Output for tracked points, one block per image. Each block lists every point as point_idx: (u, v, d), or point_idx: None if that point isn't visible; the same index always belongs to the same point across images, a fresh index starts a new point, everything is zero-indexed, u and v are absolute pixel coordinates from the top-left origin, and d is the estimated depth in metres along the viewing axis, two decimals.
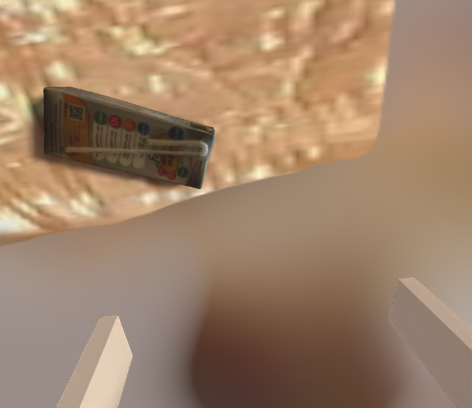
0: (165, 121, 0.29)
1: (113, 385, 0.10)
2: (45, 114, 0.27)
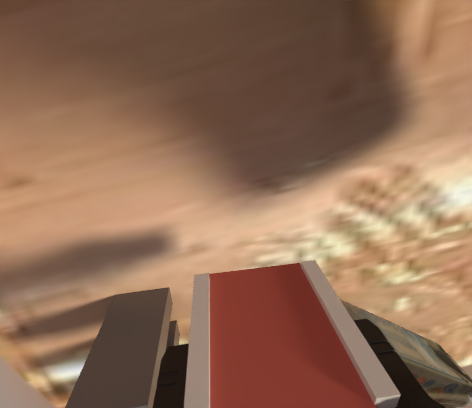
0: (450, 378, 0.26)
1: None
2: None
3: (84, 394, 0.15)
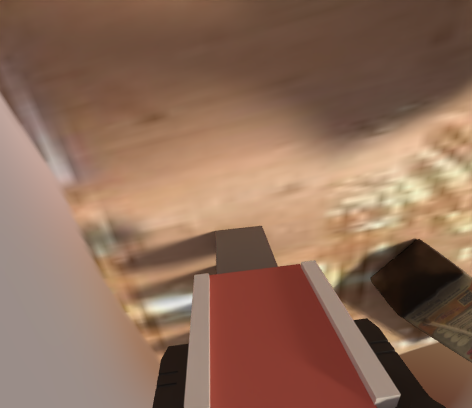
0: None
1: None
2: (439, 290, 0.25)
3: None
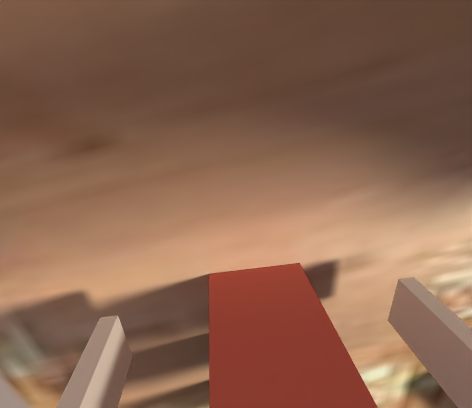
0: None
1: (113, 385, 0.10)
2: None
3: None
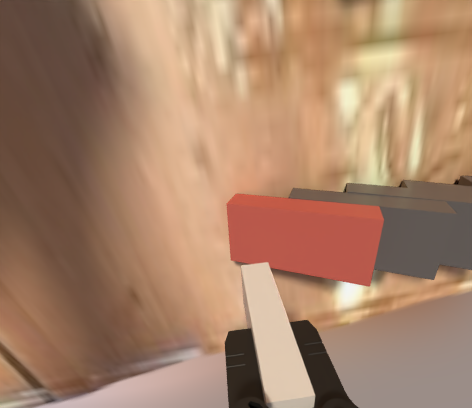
0: None
1: None
2: None
3: (416, 265, 0.17)
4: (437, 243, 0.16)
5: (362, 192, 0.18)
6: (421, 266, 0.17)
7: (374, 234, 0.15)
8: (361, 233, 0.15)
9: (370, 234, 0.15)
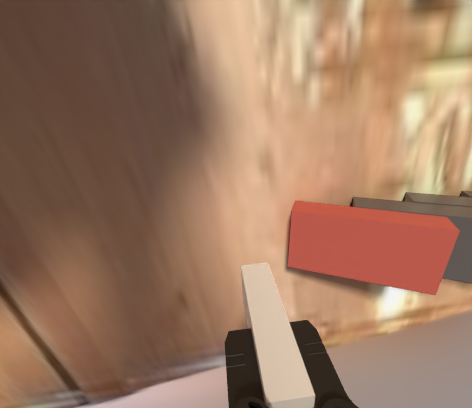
0: None
1: None
2: None
3: None
4: None
5: (429, 202, 0.18)
6: None
7: (447, 244, 0.15)
8: (433, 243, 0.16)
9: (443, 244, 0.15)
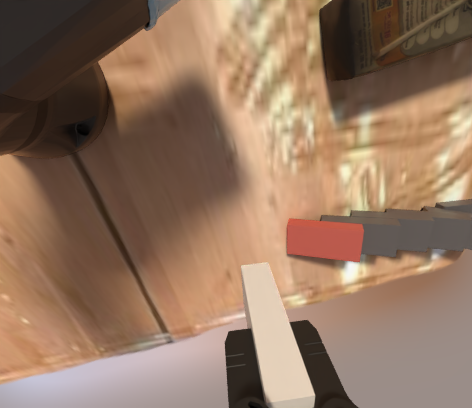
0: None
1: None
2: (350, 25, 0.23)
3: (386, 250, 0.35)
4: (394, 239, 0.34)
5: (360, 216, 0.36)
6: (389, 250, 0.34)
7: (360, 237, 0.33)
8: (354, 237, 0.33)
9: (358, 237, 0.33)
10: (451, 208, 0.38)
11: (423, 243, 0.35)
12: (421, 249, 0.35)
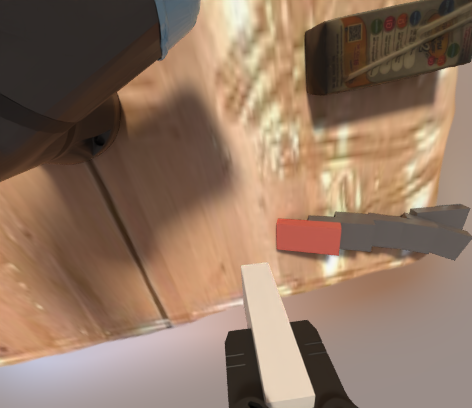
0: None
1: None
2: (326, 50, 0.28)
3: (363, 246, 0.40)
4: (370, 236, 0.39)
5: None
6: (365, 246, 0.40)
7: (338, 234, 0.38)
8: (333, 234, 0.39)
9: (336, 234, 0.39)
10: (423, 214, 0.43)
11: (395, 241, 0.40)
12: (393, 246, 0.41)
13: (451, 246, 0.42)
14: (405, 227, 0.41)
